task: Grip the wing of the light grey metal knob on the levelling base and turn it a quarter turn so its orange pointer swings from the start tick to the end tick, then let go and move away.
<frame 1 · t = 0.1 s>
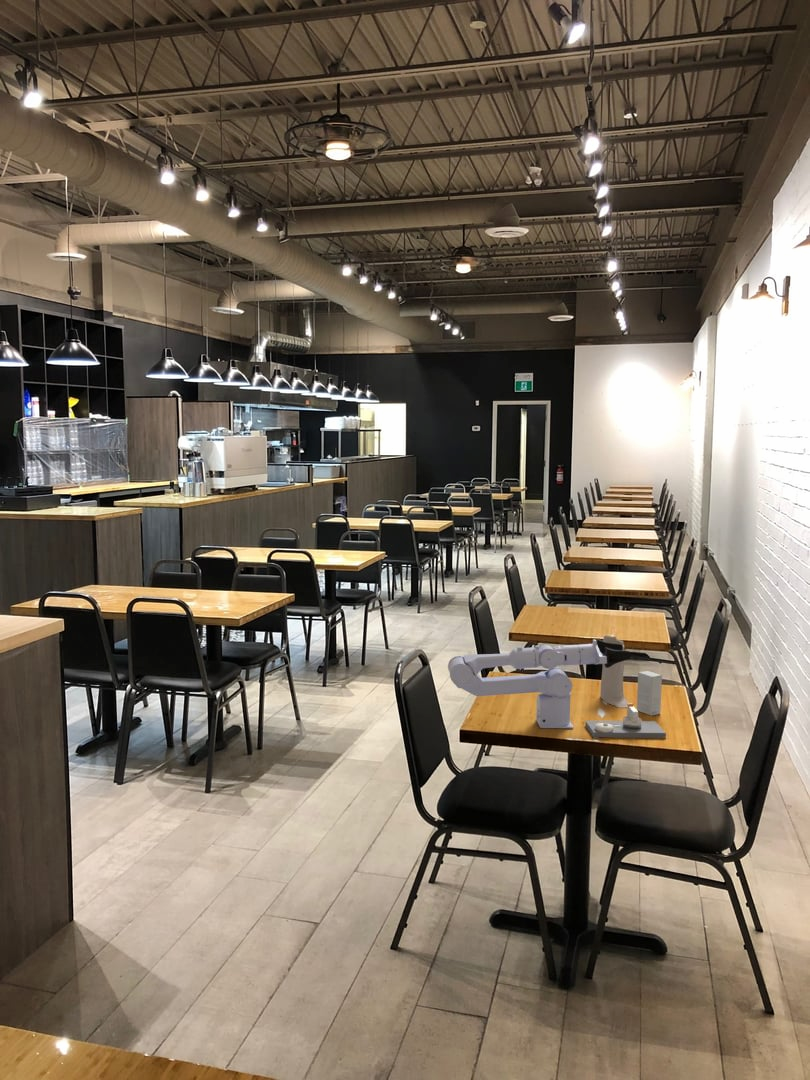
hand: (626, 651, 242), 22 cm above the table, tool horizontal, fingers open, 7 cm apart
knob: (632, 716, 238), point 5 cm above the table, hinge at 0.0°
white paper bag: (615, 701, 267), on the table
skincare box: (648, 712, 257), on the table
levelling base: (624, 731, 239), on the table
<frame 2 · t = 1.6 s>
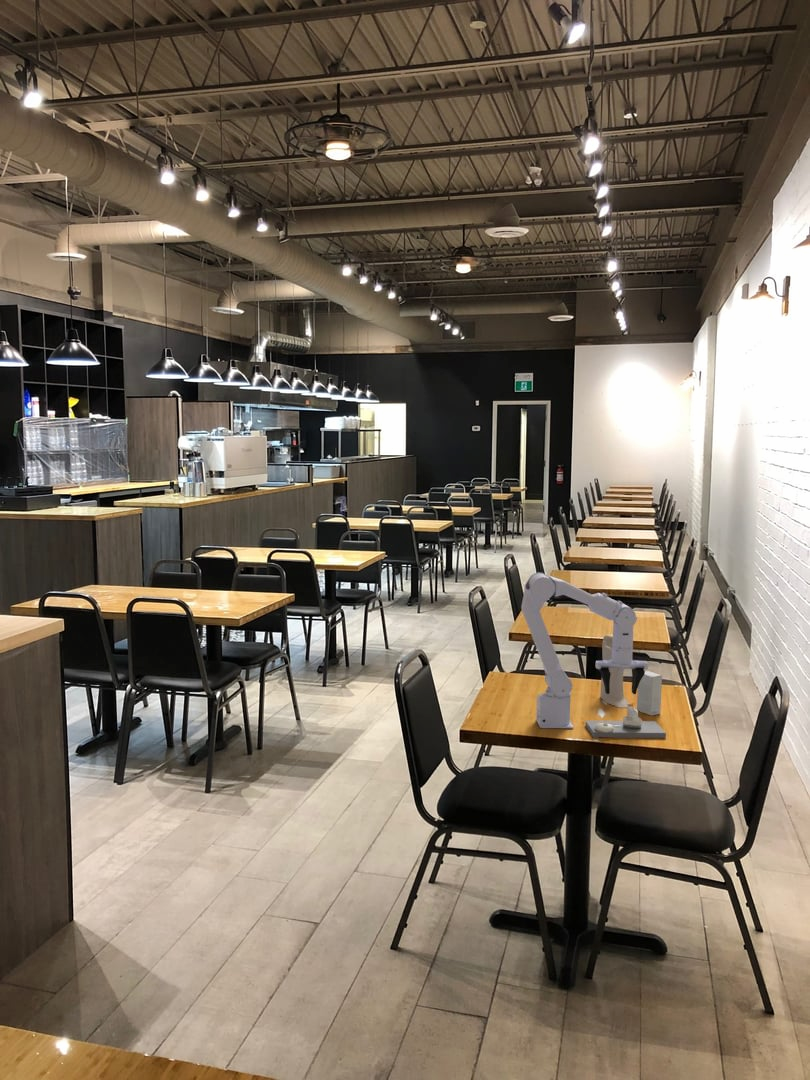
hand: (620, 693, 243), 9 cm above the table, tool pointing down, fingers open, 7 cm apart
nothing on the table moved.
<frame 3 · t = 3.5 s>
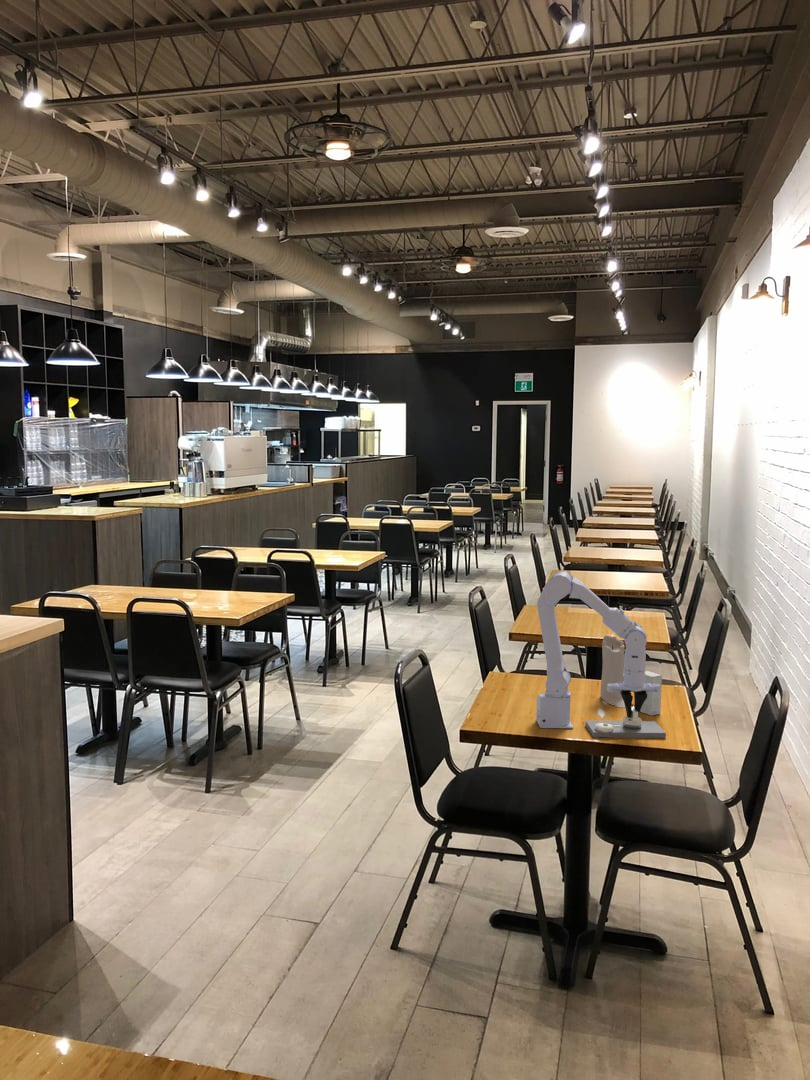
hand: (632, 716, 238), 4 cm above the table, tool pointing down, fingers closed on knob
knob: (632, 716, 238), point 5 cm above the table, hinge at 0.0°, touching gripper
everything else where it was.
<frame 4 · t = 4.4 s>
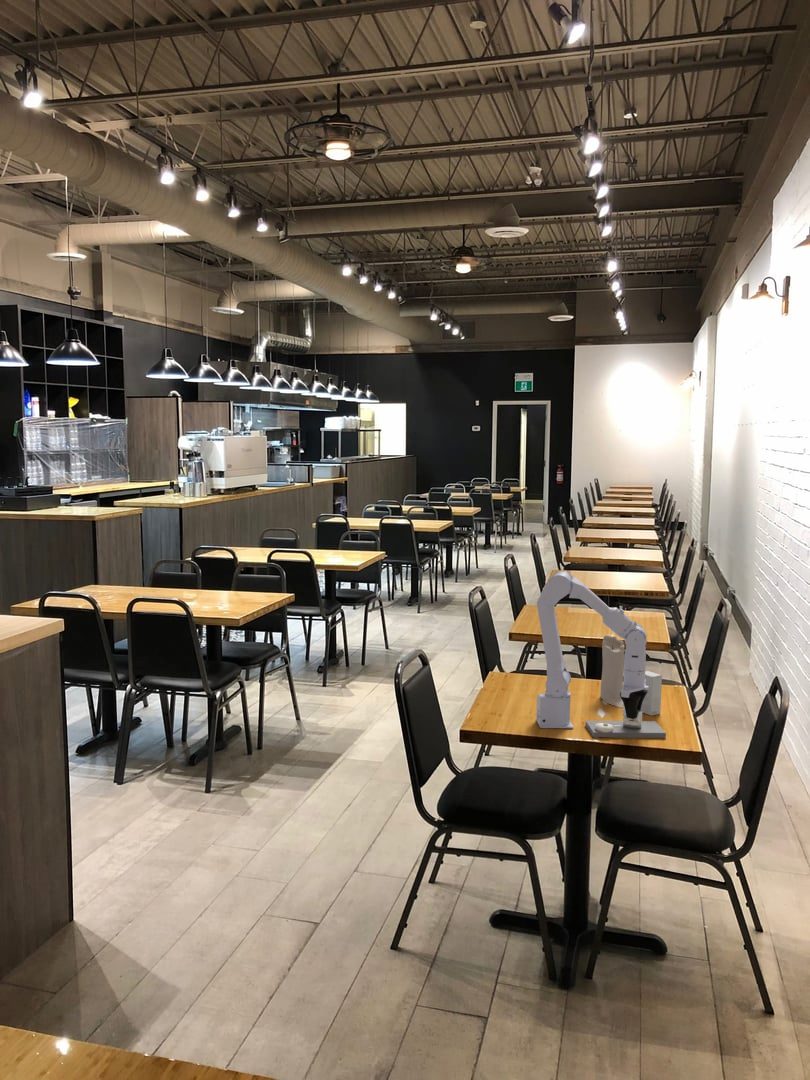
hand: (632, 716, 238), 4 cm above the table, tool pointing down, fingers closed on knob, 3 cm apart
knob: (632, 716, 238), point 5 cm above the table, hinge at 28.2°, touching gripper
everything else where it was.
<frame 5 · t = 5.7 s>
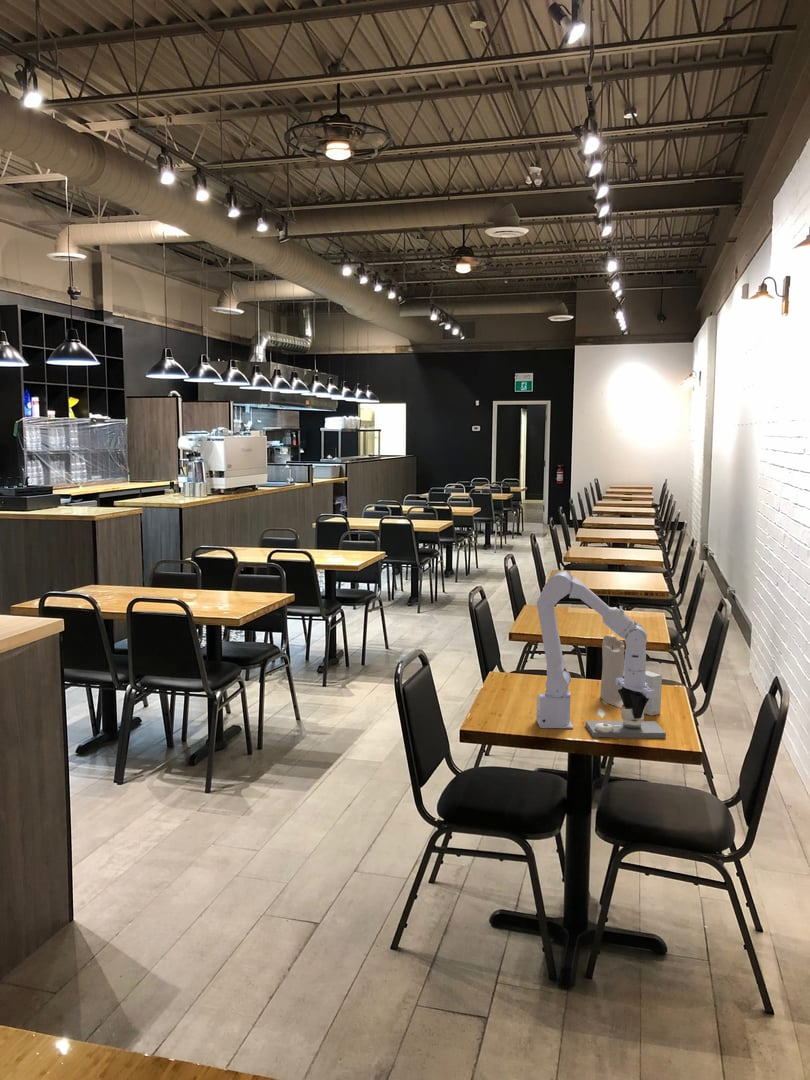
hand: (633, 716, 238), 5 cm above the table, tool pointing down, fingers closed on knob, 3 cm apart
knob: (632, 716, 238), point 5 cm above the table, hinge at 82.5°, touching gripper
everything else where it was.
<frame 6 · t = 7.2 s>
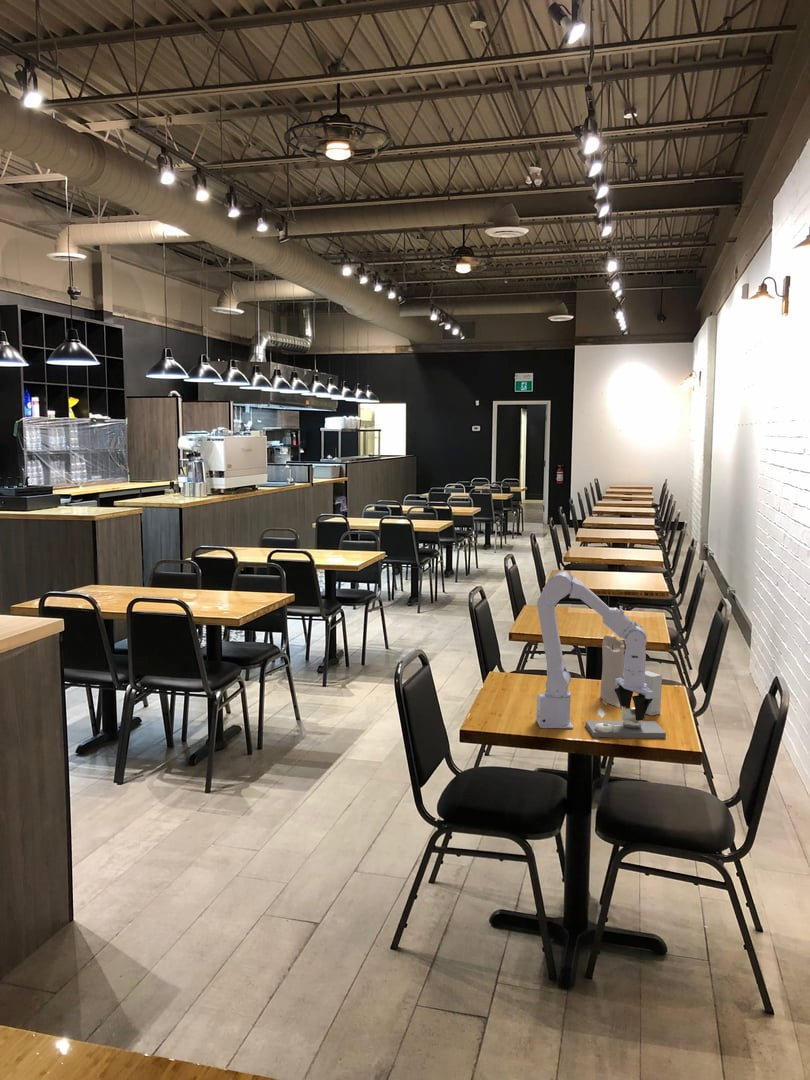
hand: (632, 716, 238), 4 cm above the table, tool pointing down, fingers open, 6 cm apart
knob: (632, 716, 238), point 5 cm above the table, hinge at 89.7°
everything else where it was.
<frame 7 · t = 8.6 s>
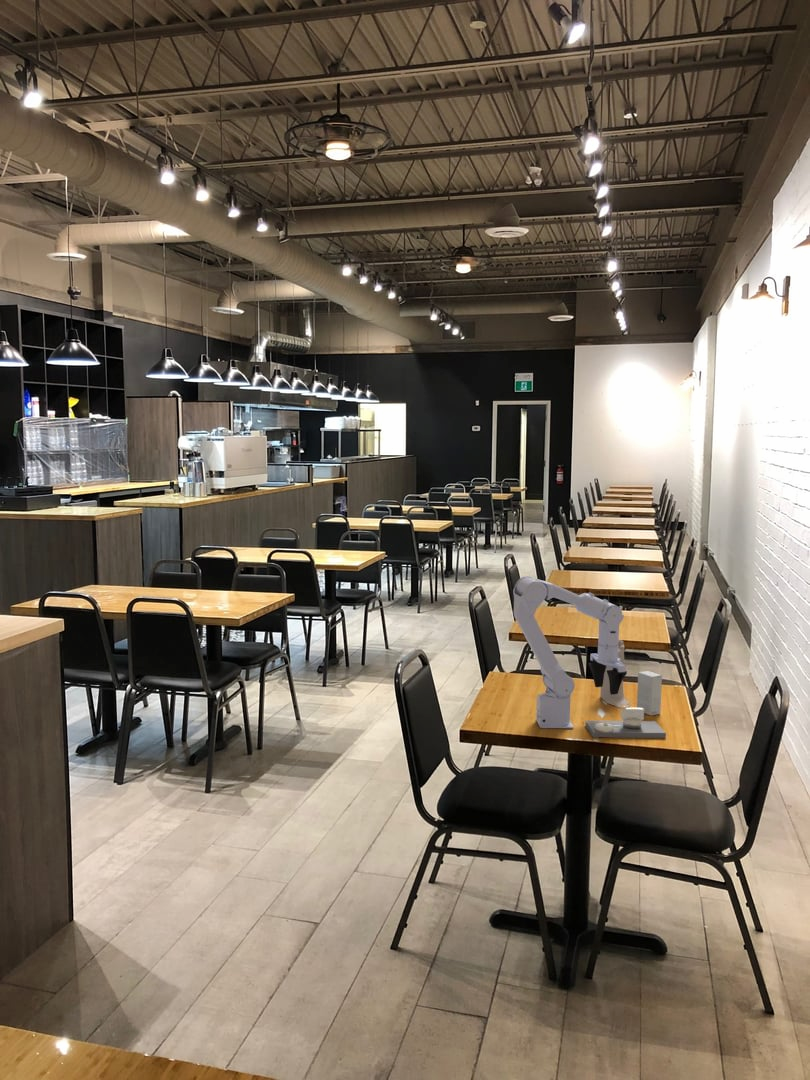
hand: (606, 690, 246), 9 cm above the table, tool pointing down, fingers open, 7 cm apart
knob: (632, 716, 238), point 5 cm above the table, hinge at 90.2°
everything else where it was.
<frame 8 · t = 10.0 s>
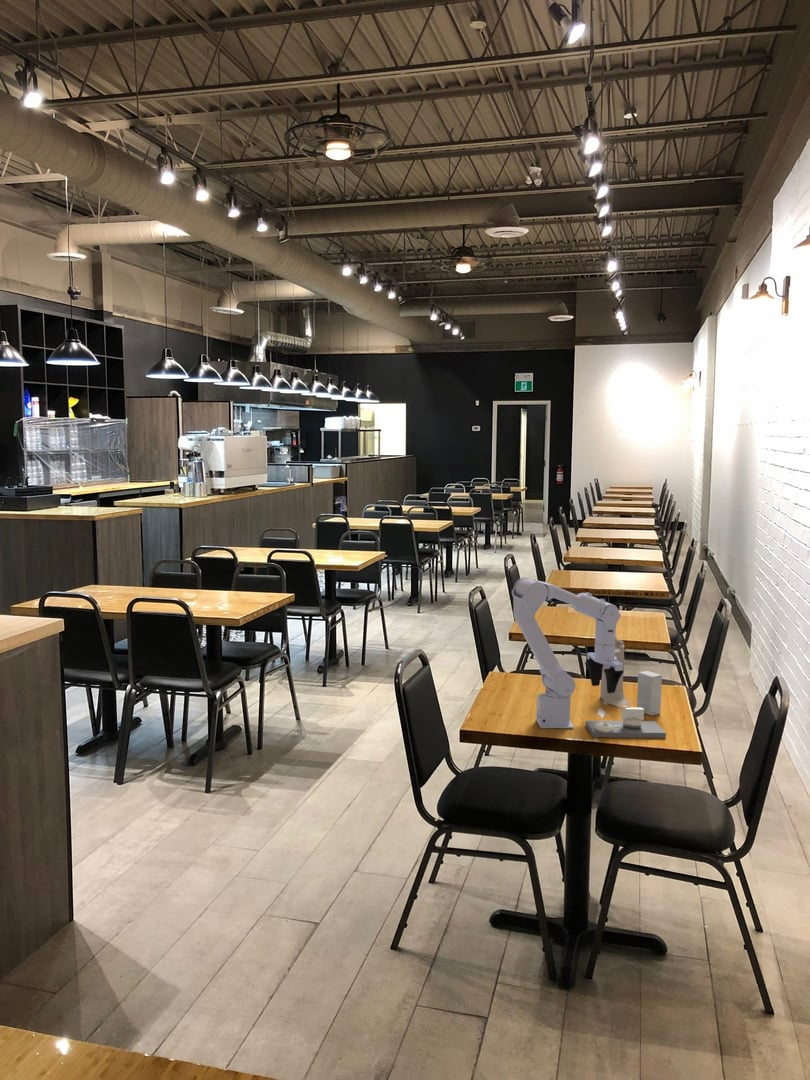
hand: (603, 689, 247), 9 cm above the table, tool pointing down, fingers open, 7 cm apart
nothing on the table moved.
at the end: knob at +90° (first picture: +0°); the gripper is holding nothing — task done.
